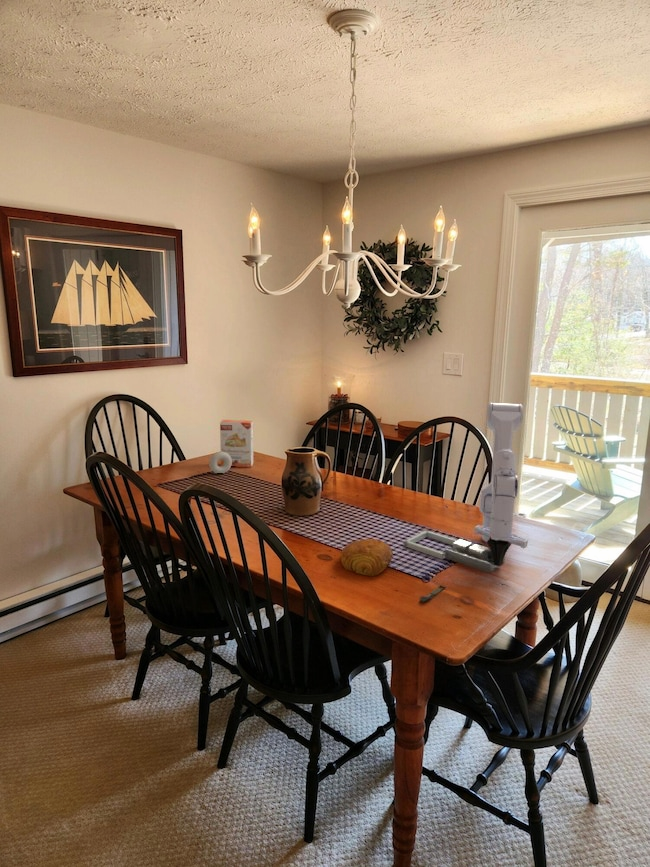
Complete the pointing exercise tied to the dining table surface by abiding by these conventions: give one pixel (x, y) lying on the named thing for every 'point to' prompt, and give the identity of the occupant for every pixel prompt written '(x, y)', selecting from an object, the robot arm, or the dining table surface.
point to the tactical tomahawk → (432, 594)
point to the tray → (412, 544)
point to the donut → (218, 456)
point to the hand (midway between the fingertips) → (497, 564)
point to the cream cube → (478, 552)
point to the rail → (473, 560)
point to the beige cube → (461, 546)
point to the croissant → (366, 556)
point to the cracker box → (237, 441)
